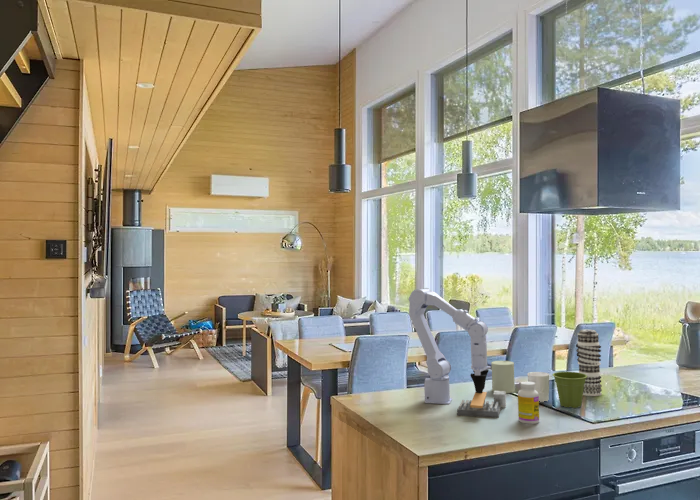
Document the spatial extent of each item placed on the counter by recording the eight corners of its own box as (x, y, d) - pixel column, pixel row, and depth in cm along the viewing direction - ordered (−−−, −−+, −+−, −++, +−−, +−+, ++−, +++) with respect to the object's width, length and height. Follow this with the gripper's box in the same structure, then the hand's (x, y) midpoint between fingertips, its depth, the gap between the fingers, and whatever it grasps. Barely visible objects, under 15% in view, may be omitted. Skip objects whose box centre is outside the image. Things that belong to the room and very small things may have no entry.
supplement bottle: (536, 425, 184) (535, 385, 184) (516, 423, 188) (514, 384, 188) (541, 420, 190) (540, 381, 190) (521, 417, 193) (520, 380, 193)
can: (518, 389, 234) (517, 360, 234) (511, 394, 226) (510, 364, 227) (496, 387, 239) (495, 358, 239) (488, 392, 231) (487, 362, 232)
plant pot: (548, 406, 206) (547, 375, 207) (561, 400, 215) (560, 370, 215) (581, 411, 198) (579, 379, 199) (593, 404, 207) (592, 374, 207)
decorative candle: (590, 397, 218) (588, 332, 218) (572, 392, 226) (570, 329, 227) (608, 394, 222) (605, 330, 222) (589, 389, 230) (587, 328, 231)
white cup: (551, 403, 211) (550, 376, 212) (529, 402, 213) (528, 375, 213) (548, 397, 219) (547, 371, 219) (527, 397, 221) (526, 371, 221)
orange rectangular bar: (470, 409, 194) (470, 405, 194) (475, 395, 209) (475, 391, 209) (482, 410, 193) (482, 405, 193) (486, 396, 208) (486, 392, 208)
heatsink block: (457, 415, 198) (457, 404, 198) (461, 408, 208) (460, 397, 208) (498, 417, 194) (498, 406, 194) (500, 410, 203) (500, 399, 203)
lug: (493, 408, 205) (493, 393, 206) (494, 405, 210) (494, 390, 210) (505, 409, 204) (504, 394, 204) (506, 405, 209) (505, 391, 209)
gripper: (488, 358, 203) (489, 396, 202) (491, 351, 216) (493, 387, 216) (468, 357, 205) (469, 395, 205) (472, 351, 219) (474, 386, 218)
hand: (480, 391), depth 210 cm, fingers open, 6 cm apart
